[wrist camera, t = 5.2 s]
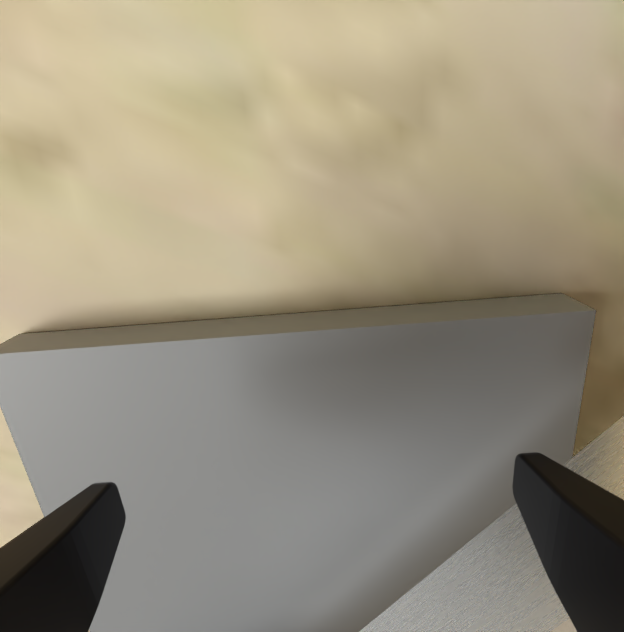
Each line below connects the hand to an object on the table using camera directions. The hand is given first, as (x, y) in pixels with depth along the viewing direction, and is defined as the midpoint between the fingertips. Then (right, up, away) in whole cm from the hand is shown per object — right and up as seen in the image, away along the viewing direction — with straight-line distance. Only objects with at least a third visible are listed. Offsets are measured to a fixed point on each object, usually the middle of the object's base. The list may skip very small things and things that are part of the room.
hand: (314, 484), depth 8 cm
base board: (0, -5, +7) cm, 8 cm away
